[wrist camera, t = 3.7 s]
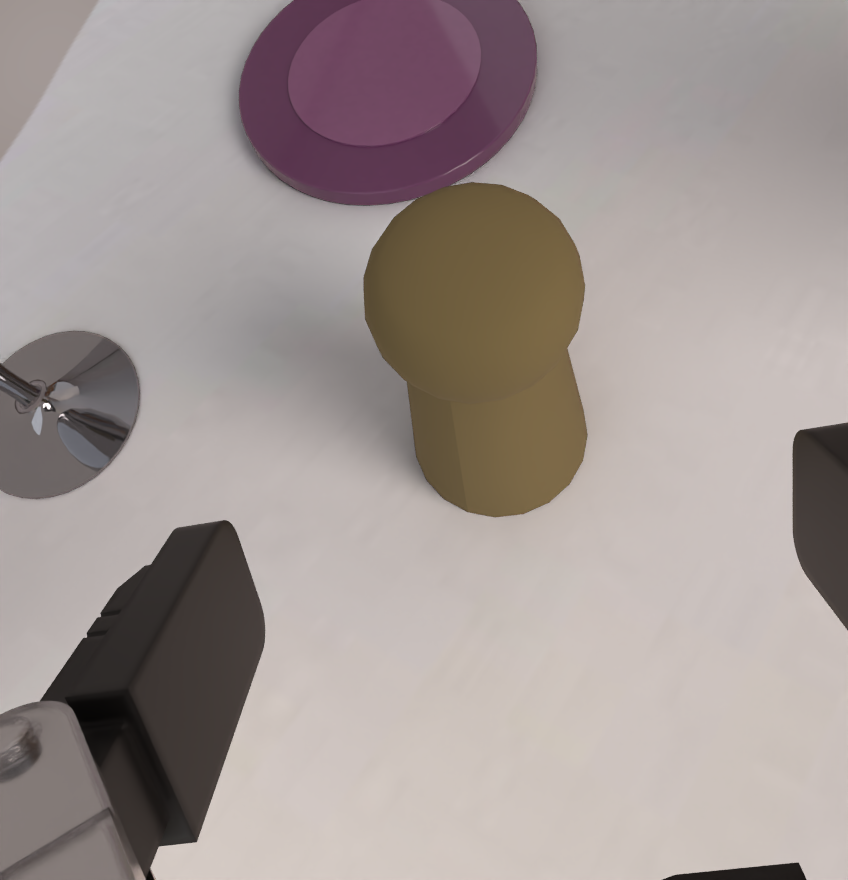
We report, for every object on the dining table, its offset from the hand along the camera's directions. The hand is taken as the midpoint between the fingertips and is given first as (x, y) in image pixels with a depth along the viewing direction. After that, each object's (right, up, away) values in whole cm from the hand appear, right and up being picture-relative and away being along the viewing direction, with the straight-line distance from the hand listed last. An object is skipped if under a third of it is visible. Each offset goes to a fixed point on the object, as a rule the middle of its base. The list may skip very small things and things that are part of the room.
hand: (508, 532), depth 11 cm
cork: (+1, +2, +16) cm, 16 cm away
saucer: (-3, +17, +22) cm, 28 cm away
